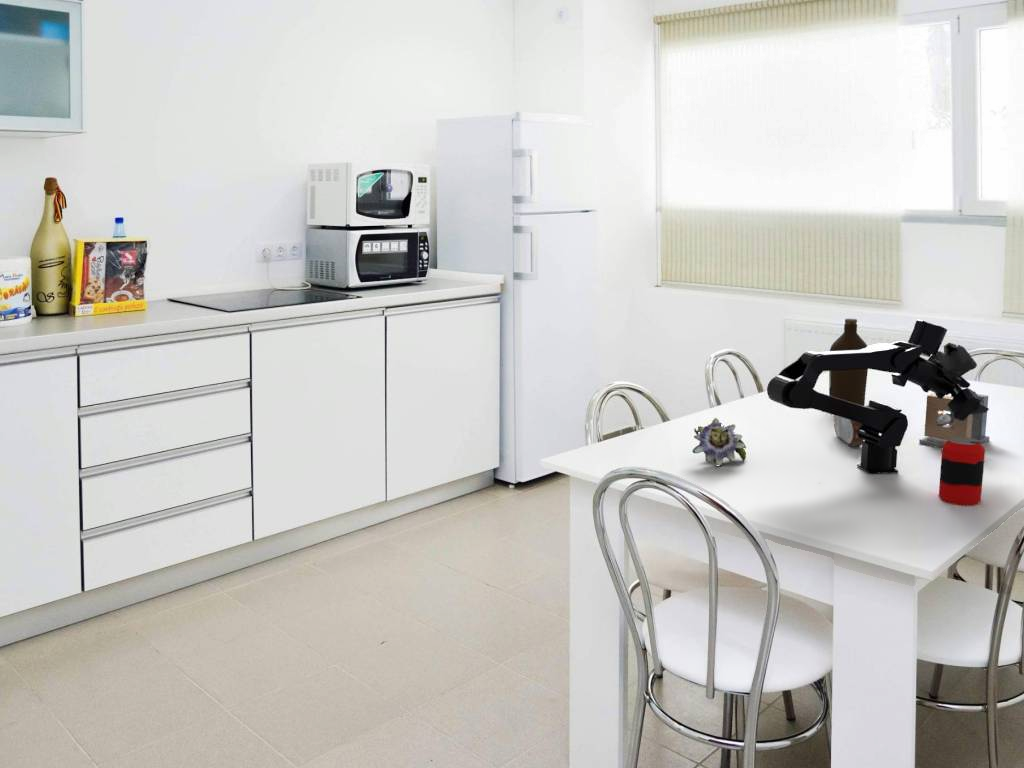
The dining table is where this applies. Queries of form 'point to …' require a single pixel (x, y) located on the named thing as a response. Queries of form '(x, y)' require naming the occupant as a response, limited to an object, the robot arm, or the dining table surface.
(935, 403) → the wooden block on rod
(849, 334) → the olive oil
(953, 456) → the soda can
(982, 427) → the stand
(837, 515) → the dining table surface
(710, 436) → the passion flower
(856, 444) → the tin
